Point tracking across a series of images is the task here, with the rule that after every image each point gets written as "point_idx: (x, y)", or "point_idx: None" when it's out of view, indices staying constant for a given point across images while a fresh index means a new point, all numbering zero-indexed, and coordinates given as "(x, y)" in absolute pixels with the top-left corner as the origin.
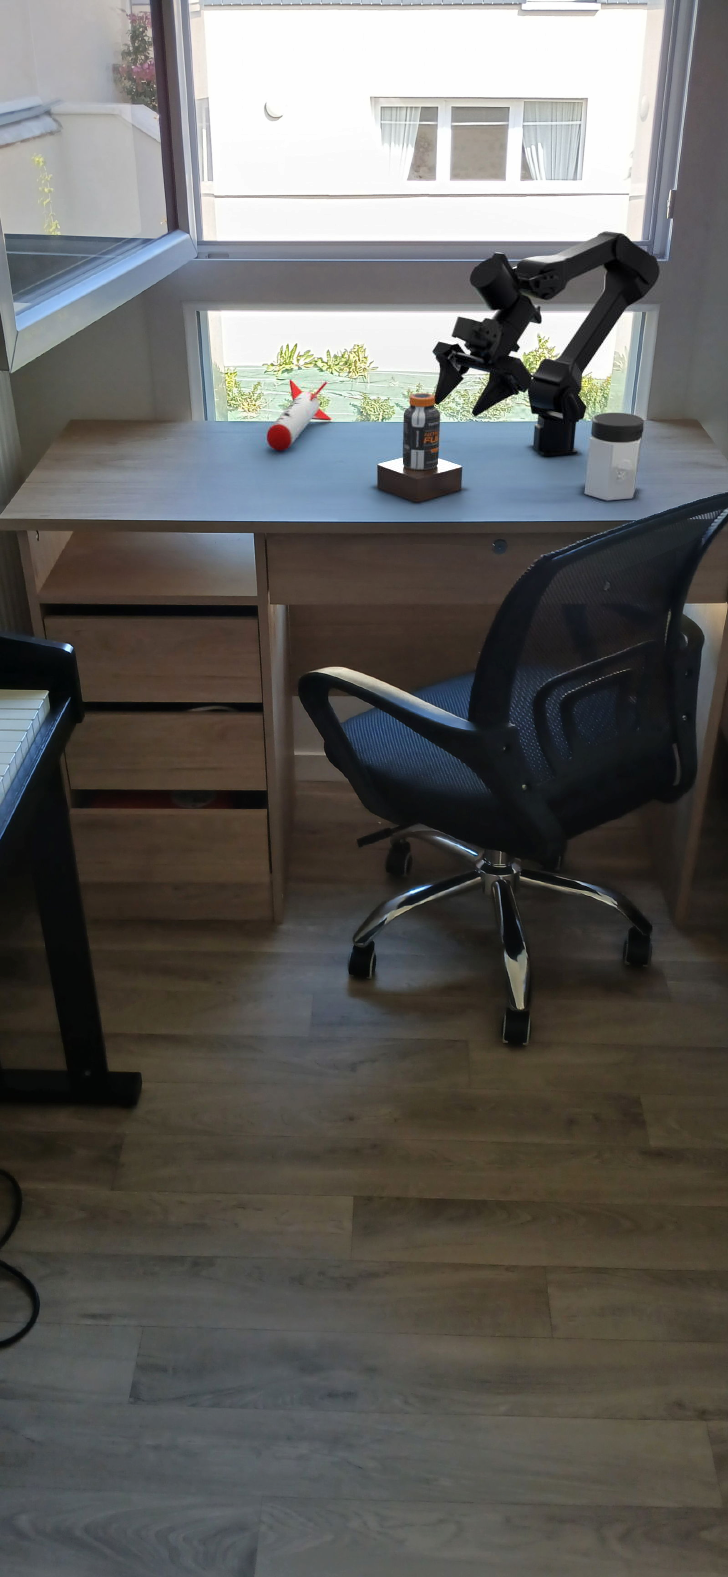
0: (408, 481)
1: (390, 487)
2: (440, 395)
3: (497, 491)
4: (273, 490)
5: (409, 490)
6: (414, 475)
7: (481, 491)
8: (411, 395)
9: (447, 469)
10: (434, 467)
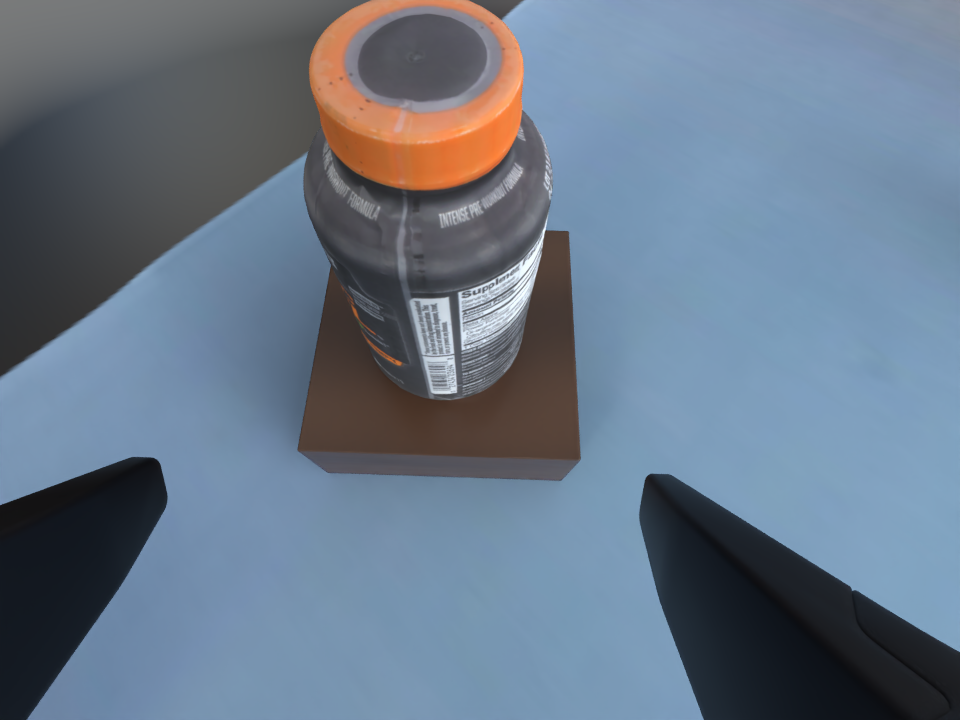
0: None
1: None
2: (666, 541)
3: (200, 575)
4: (710, 95)
5: None
6: None
7: (255, 522)
8: (483, 15)
9: (321, 372)
10: None
